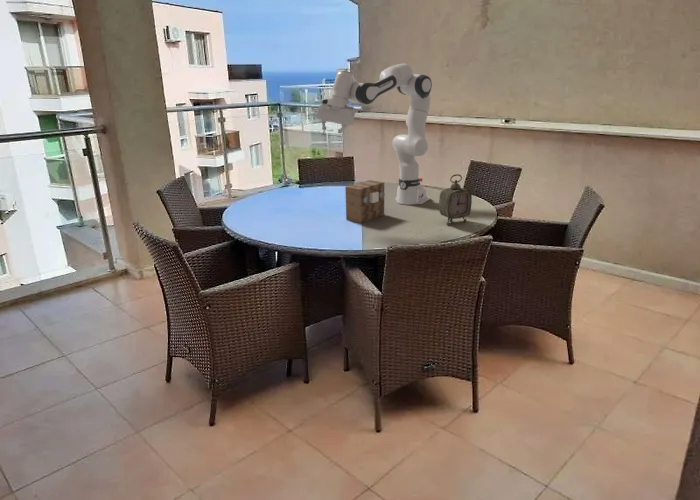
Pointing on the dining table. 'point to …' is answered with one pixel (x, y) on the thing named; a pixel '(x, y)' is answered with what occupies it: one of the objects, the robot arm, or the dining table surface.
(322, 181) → the dining table surface
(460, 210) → the tabletop clock
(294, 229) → the dining table surface
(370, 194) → the cream button
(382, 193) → the wooden block with knobs
